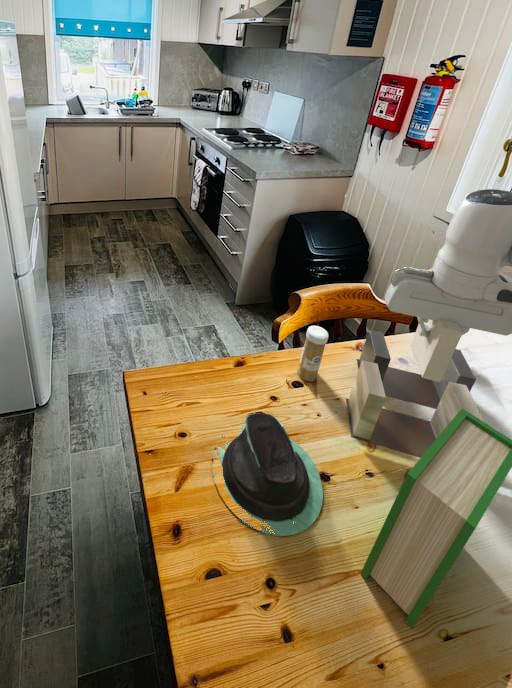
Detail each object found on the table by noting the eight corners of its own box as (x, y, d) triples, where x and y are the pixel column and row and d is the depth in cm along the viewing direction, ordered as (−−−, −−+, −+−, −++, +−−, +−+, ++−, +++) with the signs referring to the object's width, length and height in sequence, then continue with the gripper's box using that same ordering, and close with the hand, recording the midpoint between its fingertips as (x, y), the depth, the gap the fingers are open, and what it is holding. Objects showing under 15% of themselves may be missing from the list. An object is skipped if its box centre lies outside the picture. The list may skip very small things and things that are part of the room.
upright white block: (426, 349, 82) (446, 302, 77) (440, 382, 74) (463, 332, 69) (410, 345, 83) (428, 299, 78) (422, 377, 75) (443, 328, 70)
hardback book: (411, 628, 55) (475, 528, 45) (360, 573, 60) (407, 473, 51) (461, 545, 64) (523, 447, 55) (413, 503, 70) (462, 408, 60)
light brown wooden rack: (446, 429, 84) (468, 384, 78) (463, 474, 75) (490, 427, 70) (344, 401, 89) (358, 357, 84) (349, 440, 80) (366, 394, 75)
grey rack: (445, 384, 95) (462, 349, 90) (461, 418, 86) (480, 382, 82) (355, 361, 100) (366, 327, 96) (361, 392, 92) (373, 356, 87)
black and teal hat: (192, 433, 79) (274, 409, 86) (226, 551, 69) (317, 513, 76) (217, 418, 68) (310, 391, 75) (263, 556, 58) (366, 511, 64)
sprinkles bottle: (306, 384, 93) (318, 340, 88) (292, 371, 97) (303, 327, 91) (320, 378, 95) (333, 335, 89) (306, 365, 99) (318, 322, 93)
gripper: (400, 273, 70) (378, 334, 76) (539, 300, 65) (505, 363, 70) (392, 256, 76) (373, 314, 81) (520, 279, 70) (490, 339, 76)
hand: (435, 337), depth 76 cm, fingers closed on upright white block, 3 cm apart
